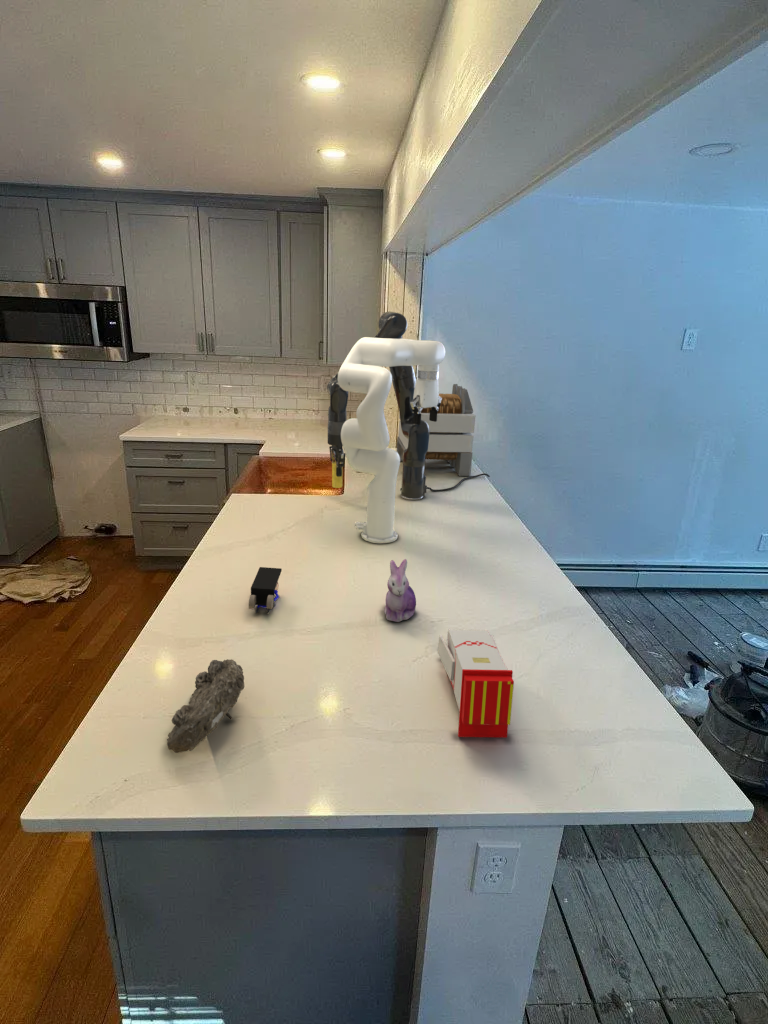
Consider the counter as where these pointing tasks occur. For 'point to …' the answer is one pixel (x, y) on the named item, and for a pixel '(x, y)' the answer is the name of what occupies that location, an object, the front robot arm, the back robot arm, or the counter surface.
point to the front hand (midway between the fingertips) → (424, 422)
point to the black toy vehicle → (264, 588)
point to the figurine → (399, 594)
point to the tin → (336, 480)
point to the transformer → (448, 431)
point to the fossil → (206, 705)
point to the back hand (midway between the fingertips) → (337, 474)
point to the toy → (478, 682)
